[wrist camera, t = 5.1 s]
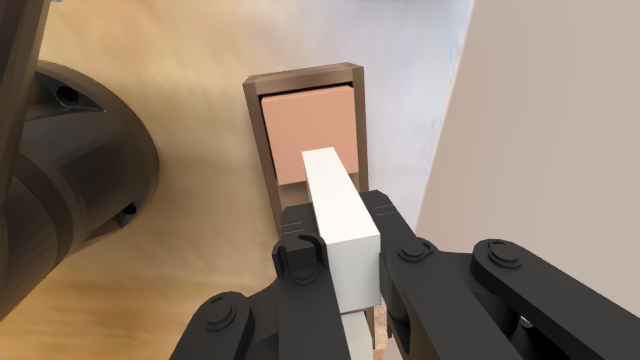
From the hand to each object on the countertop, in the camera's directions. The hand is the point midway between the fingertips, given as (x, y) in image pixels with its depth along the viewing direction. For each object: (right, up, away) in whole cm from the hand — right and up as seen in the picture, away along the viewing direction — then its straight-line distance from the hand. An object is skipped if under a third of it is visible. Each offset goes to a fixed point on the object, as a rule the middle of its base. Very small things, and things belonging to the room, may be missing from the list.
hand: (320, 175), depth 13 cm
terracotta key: (-1, +5, +10) cm, 11 cm away
